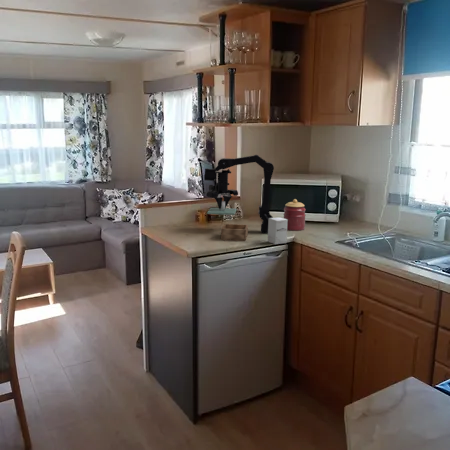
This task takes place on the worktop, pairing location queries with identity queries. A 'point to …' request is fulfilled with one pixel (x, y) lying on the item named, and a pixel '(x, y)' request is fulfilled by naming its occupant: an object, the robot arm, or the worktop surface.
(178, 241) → the worktop surface
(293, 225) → the canister
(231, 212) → the lid
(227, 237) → the box
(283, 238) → the supplement box
